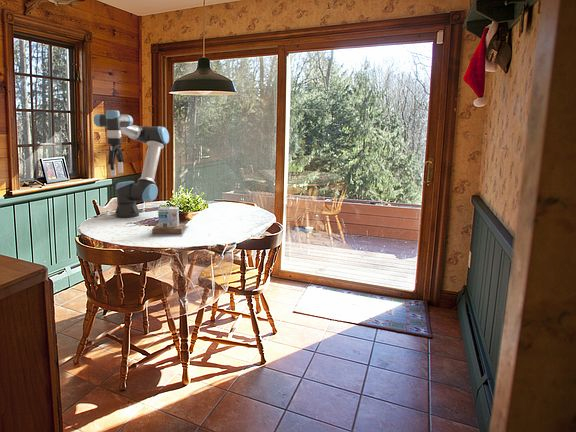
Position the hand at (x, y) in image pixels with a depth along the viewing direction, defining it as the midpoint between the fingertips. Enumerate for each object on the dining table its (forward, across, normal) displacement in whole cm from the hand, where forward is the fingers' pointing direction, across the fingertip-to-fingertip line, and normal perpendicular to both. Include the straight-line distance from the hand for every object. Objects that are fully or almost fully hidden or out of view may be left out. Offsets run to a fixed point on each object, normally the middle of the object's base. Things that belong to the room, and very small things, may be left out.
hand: (117, 174), depth 242 cm
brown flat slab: (+32, +16, +32) cm, 48 cm away
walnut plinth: (+31, +16, +32) cm, 47 cm away
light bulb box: (+28, +16, +32) cm, 45 cm away
